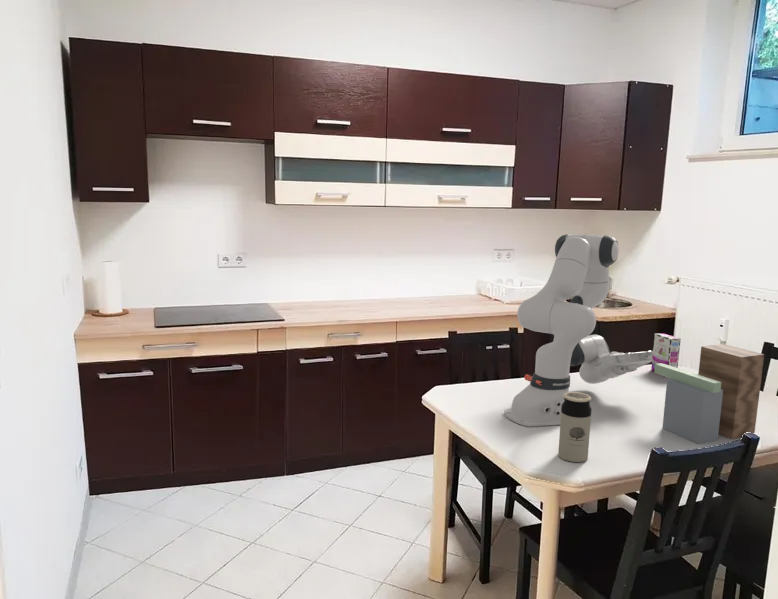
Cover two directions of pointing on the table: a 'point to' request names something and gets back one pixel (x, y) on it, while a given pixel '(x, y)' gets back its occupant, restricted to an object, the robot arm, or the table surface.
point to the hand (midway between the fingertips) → (641, 353)
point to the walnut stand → (734, 385)
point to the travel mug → (575, 427)
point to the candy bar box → (665, 350)
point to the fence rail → (688, 378)
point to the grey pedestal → (692, 412)
